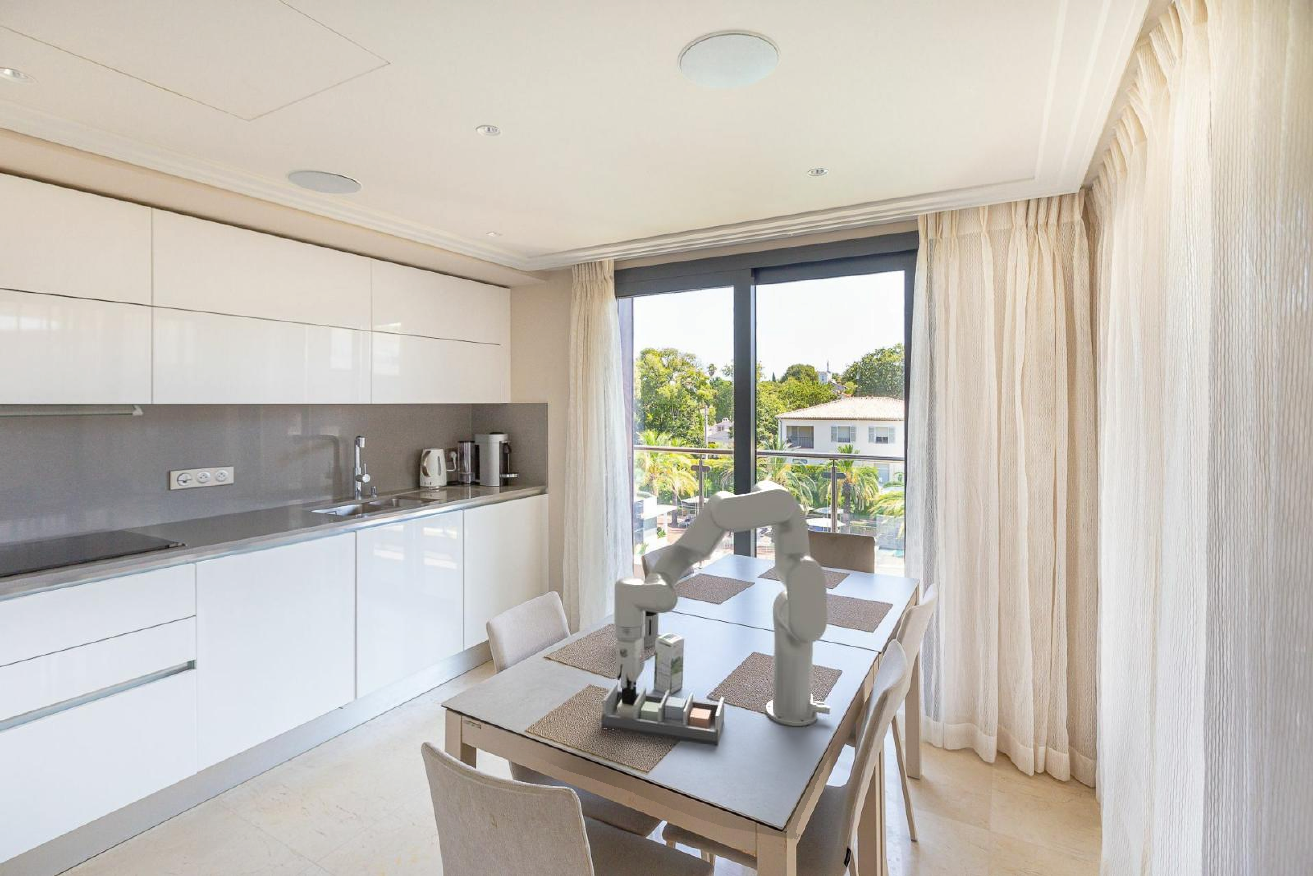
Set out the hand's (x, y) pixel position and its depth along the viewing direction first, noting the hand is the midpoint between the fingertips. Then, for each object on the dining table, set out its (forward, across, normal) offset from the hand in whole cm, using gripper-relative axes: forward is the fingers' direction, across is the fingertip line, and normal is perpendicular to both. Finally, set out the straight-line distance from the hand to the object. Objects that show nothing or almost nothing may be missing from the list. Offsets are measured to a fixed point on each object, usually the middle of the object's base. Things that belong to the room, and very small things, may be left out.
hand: (628, 702), depth 153 cm
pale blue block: (+1, 0, -12) cm, 12 cm away
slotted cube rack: (+4, 0, -9) cm, 10 cm away
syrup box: (+5, +19, -6) cm, 20 cm away
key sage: (+3, 0, -6) cm, 7 cm away
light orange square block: (+3, 0, -18) cm, 18 cm away
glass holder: (+5, +47, +8) cm, 48 cm away
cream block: (+3, 0, 0) cm, 3 cm away
